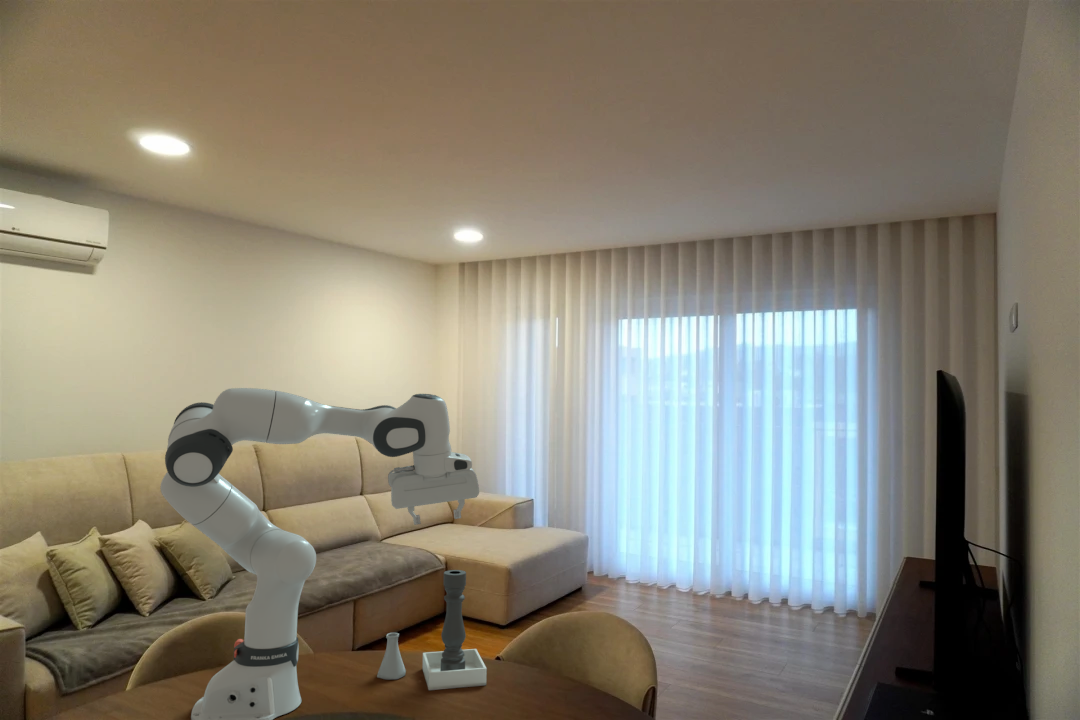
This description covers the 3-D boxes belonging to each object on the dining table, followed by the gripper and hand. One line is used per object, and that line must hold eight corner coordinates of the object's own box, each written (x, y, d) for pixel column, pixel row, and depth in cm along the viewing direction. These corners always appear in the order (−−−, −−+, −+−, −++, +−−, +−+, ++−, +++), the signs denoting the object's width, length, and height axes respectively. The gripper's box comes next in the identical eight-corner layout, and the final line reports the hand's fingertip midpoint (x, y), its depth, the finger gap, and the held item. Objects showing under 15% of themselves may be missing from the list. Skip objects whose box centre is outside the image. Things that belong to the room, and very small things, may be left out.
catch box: (428, 690, 167) (429, 673, 167) (422, 668, 180) (422, 652, 181) (486, 685, 171) (486, 668, 171) (475, 664, 184) (476, 648, 184)
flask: (398, 682, 172) (400, 640, 172) (371, 679, 173) (373, 637, 174) (410, 671, 179) (411, 631, 179) (384, 668, 180) (385, 628, 181)
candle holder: (437, 670, 178) (440, 570, 179) (461, 667, 180) (463, 568, 182) (443, 679, 172) (446, 576, 174) (467, 676, 174) (470, 574, 176)
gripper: (388, 472, 155) (393, 532, 157) (478, 460, 161) (482, 518, 163) (386, 465, 161) (391, 523, 163) (473, 454, 167) (477, 510, 169)
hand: (437, 520), depth 163 cm, fingers open, 8 cm apart
